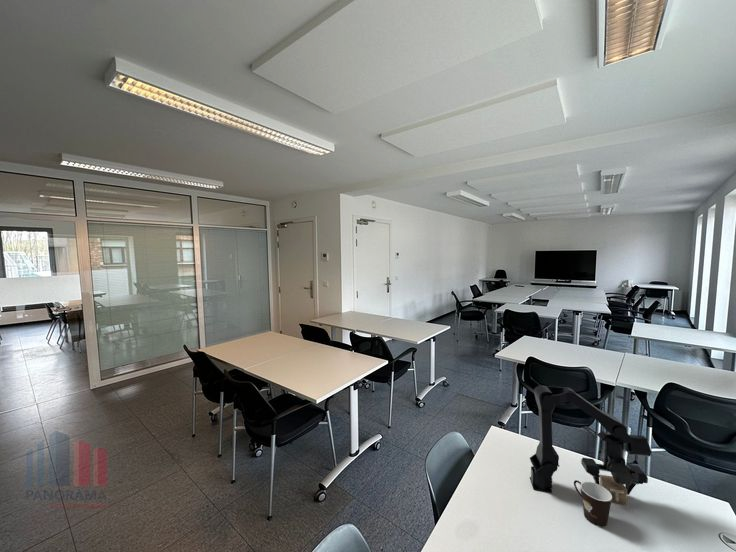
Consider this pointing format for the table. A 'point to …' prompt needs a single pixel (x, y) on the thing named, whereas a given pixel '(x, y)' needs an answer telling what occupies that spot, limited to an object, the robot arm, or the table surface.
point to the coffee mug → (595, 502)
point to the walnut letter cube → (614, 489)
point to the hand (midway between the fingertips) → (612, 491)
